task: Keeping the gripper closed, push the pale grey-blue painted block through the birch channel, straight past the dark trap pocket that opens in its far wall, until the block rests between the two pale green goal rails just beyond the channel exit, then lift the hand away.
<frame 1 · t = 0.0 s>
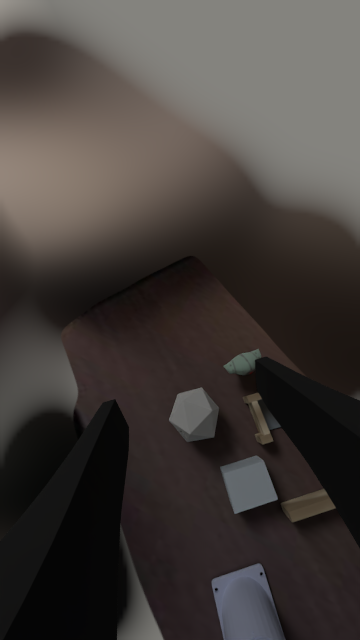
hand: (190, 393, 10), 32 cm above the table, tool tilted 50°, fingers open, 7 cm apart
die: (194, 413, 38), on the table
channel: (289, 463, 34), on the table
grey block: (243, 477, 33), on the table
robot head: (239, 368, 41), on the table
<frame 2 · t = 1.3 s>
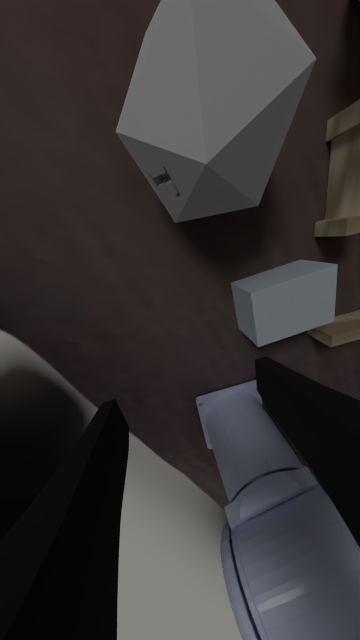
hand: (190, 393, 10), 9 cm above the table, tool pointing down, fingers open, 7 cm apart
die: (191, 158, 14), on the table
channel: (347, 275, 19), on the table
grey block: (267, 295, 19), on the table
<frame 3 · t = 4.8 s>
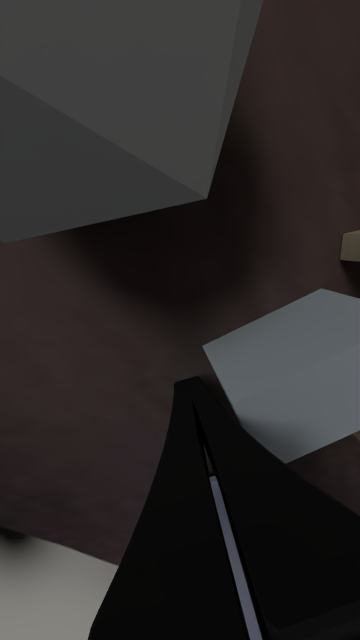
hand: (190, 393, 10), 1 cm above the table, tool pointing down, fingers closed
die: (80, 94, 6), on the table
grey block: (271, 352, 11), on the table, touching gripper
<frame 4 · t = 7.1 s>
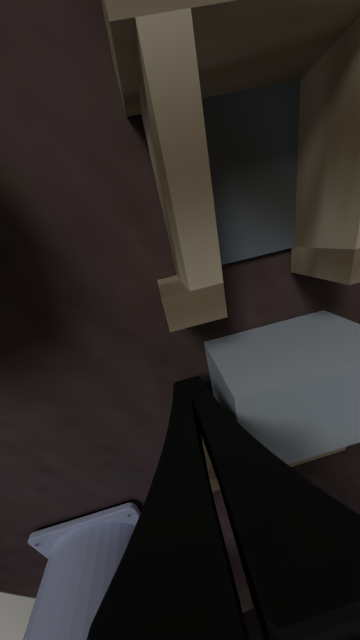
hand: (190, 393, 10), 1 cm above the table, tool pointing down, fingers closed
channel: (248, 358, 11), on the table
grey block: (265, 362, 11), on the table, touching gripper
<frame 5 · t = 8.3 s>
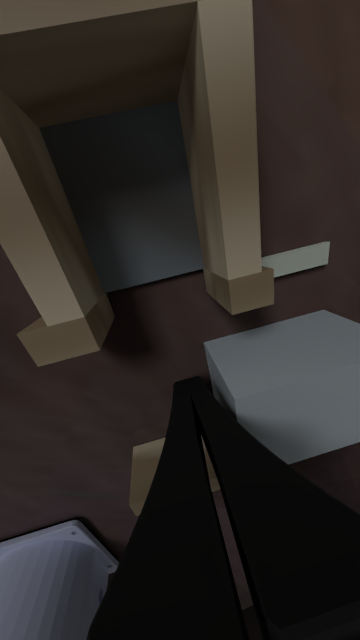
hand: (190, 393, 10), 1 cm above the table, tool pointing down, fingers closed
channel: (177, 378, 11), on the table
goal rails: (279, 349, 11), on the table
grey block: (265, 362, 11), on the table, touching gripper
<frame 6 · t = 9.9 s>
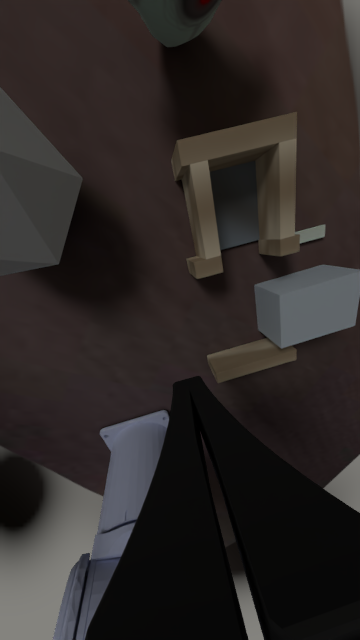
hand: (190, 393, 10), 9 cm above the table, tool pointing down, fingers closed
die: (29, 204, 13), on the table
channel: (237, 307, 19), on the table
goal rails: (297, 290, 19), on the table
grey block: (287, 298, 19), on the table
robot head: (173, 40, 11), on the table
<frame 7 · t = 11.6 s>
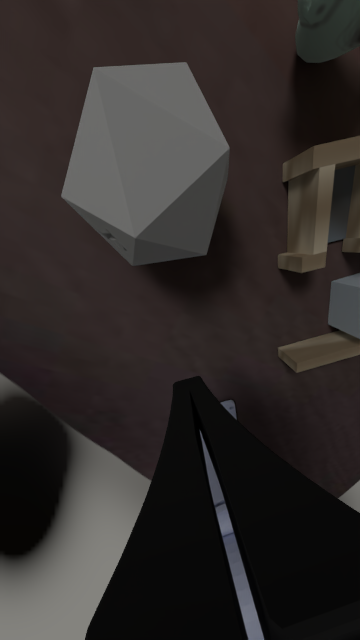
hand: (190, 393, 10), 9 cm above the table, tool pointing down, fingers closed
die: (152, 200, 14), on the table
channel: (313, 301, 20), on the table
grey block: (357, 294, 20), on the table
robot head: (304, 56, 12), on the table
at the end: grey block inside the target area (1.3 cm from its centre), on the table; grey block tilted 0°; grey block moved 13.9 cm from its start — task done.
